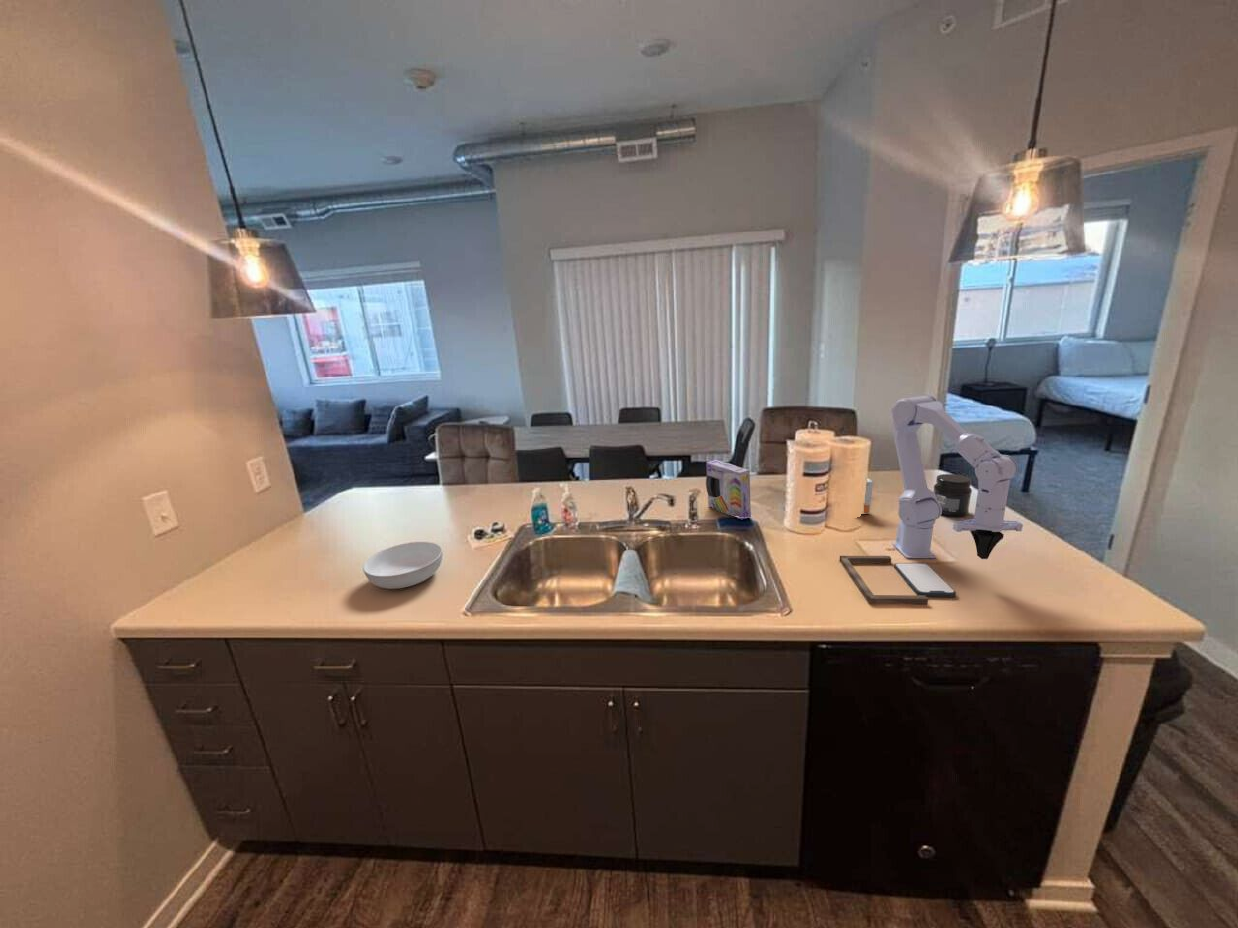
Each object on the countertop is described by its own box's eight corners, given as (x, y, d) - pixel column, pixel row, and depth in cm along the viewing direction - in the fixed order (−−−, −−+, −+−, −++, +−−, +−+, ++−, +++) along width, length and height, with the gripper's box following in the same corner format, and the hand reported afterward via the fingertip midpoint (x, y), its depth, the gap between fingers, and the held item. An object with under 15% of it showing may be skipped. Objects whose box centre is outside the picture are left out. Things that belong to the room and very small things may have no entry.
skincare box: (851, 515, 168) (853, 481, 165) (847, 510, 172) (850, 477, 169) (870, 515, 167) (873, 481, 164) (866, 510, 171) (868, 477, 168)
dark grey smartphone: (891, 568, 134) (918, 598, 119) (892, 562, 134) (918, 592, 119) (926, 568, 133) (958, 599, 118) (927, 562, 133) (958, 593, 117)
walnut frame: (839, 560, 138) (839, 555, 138) (888, 560, 137) (889, 555, 136) (869, 603, 117) (869, 598, 117) (927, 604, 116) (928, 598, 116)
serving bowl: (371, 570, 148) (366, 550, 146) (444, 556, 155) (441, 536, 153) (363, 605, 129) (358, 582, 127) (447, 587, 136) (443, 564, 134)
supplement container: (967, 509, 168) (972, 475, 165) (969, 520, 159) (974, 484, 156) (930, 504, 173) (934, 472, 170) (930, 515, 165) (935, 481, 161)
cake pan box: (705, 506, 184) (704, 460, 179) (715, 503, 186) (715, 457, 181) (740, 522, 168) (741, 472, 163) (751, 519, 170) (752, 469, 165)
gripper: (967, 512, 116) (959, 564, 120) (1035, 511, 114) (1025, 564, 118) (951, 501, 123) (944, 551, 126) (1015, 500, 121) (1006, 551, 125)
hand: (982, 557), depth 123 cm, fingers closed
